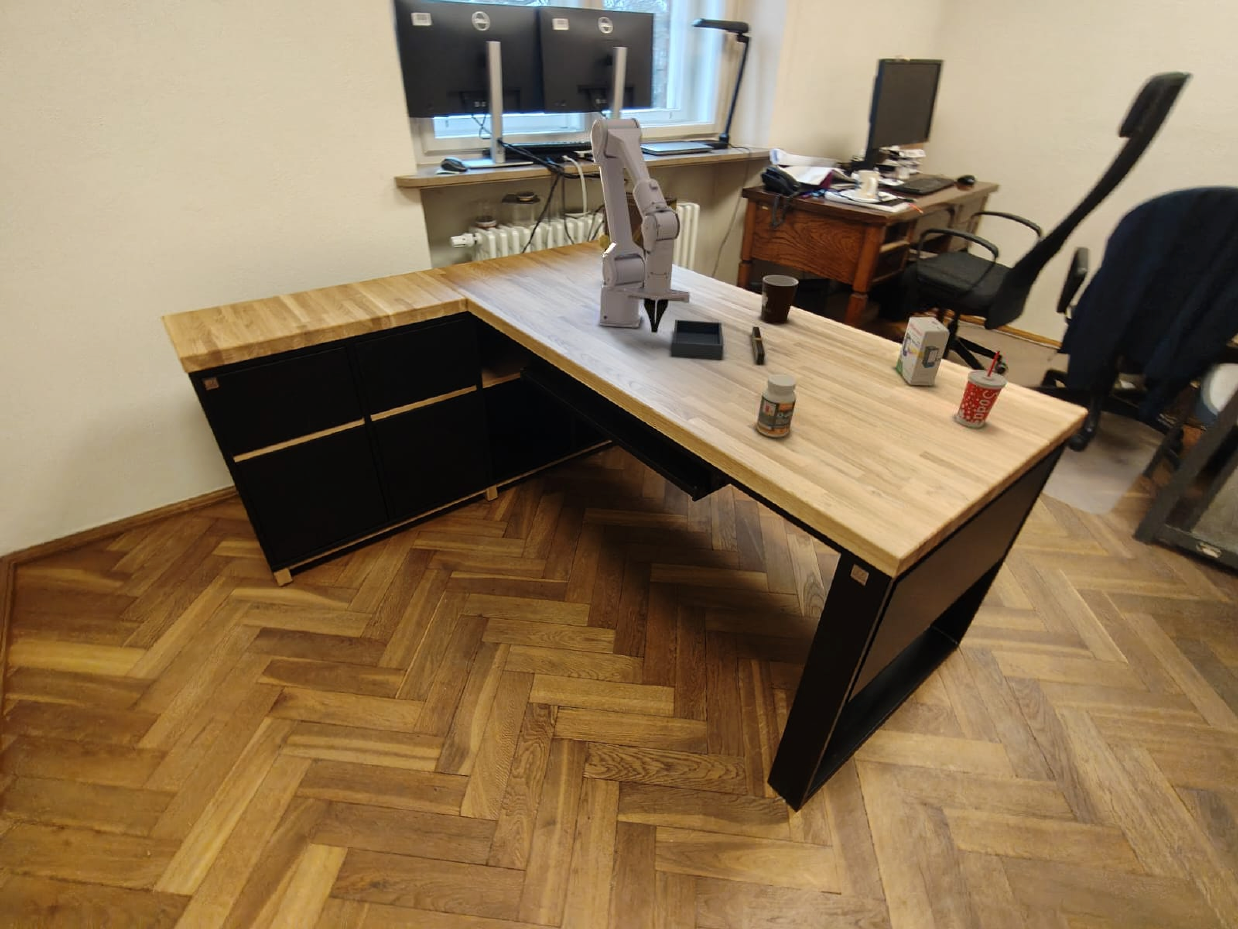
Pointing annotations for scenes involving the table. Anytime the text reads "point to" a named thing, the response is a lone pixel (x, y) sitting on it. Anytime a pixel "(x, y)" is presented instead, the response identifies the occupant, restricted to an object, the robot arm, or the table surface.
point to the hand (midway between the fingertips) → (654, 330)
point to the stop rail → (757, 345)
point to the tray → (697, 339)
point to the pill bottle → (777, 406)
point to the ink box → (922, 350)
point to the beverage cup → (980, 396)
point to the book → (633, 225)
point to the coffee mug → (777, 298)
